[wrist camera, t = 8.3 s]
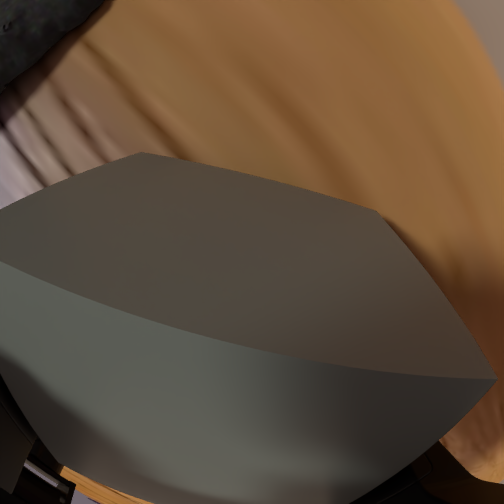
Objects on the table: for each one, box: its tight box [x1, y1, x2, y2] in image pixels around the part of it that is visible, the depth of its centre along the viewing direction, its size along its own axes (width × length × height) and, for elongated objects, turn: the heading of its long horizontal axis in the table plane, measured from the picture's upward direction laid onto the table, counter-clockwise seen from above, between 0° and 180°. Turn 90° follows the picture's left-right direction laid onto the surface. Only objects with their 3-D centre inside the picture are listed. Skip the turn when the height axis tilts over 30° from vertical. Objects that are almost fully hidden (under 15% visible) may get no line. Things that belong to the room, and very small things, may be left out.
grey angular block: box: [0, 152, 498, 504], centre depth 7 cm, size 8×8×7 cm
